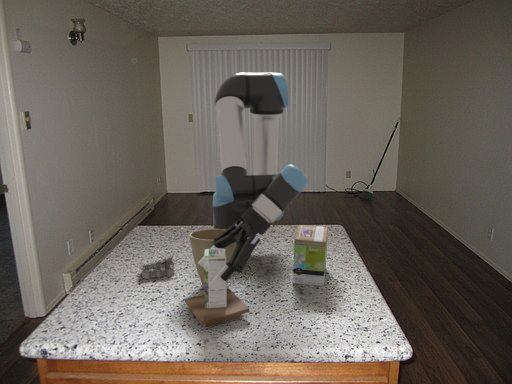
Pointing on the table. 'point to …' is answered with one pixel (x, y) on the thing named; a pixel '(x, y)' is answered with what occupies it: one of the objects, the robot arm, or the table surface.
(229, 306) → the stand
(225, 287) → the syrup box
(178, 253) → the table surface
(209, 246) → the plant pot
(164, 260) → the egg carton
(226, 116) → the robot arm
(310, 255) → the tea box
